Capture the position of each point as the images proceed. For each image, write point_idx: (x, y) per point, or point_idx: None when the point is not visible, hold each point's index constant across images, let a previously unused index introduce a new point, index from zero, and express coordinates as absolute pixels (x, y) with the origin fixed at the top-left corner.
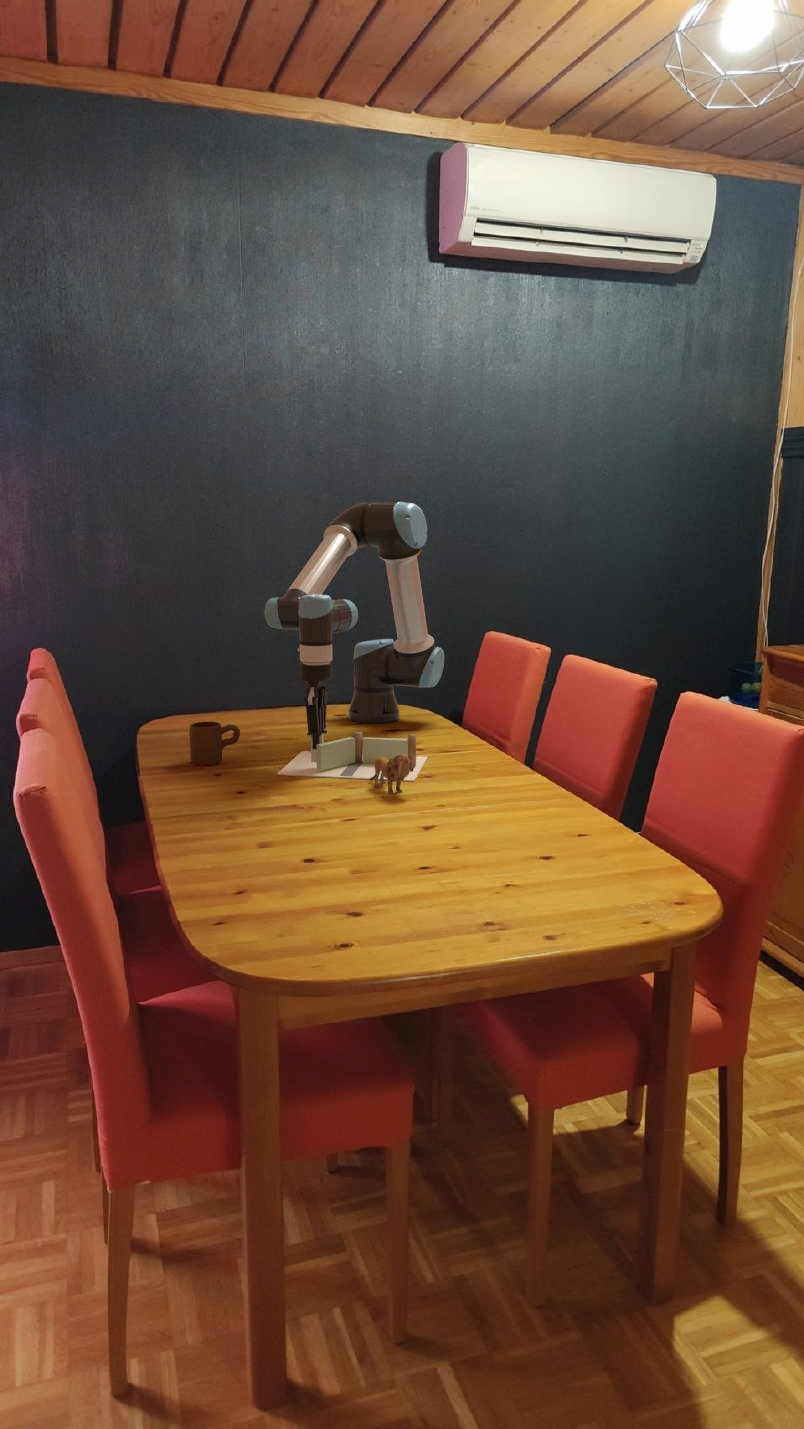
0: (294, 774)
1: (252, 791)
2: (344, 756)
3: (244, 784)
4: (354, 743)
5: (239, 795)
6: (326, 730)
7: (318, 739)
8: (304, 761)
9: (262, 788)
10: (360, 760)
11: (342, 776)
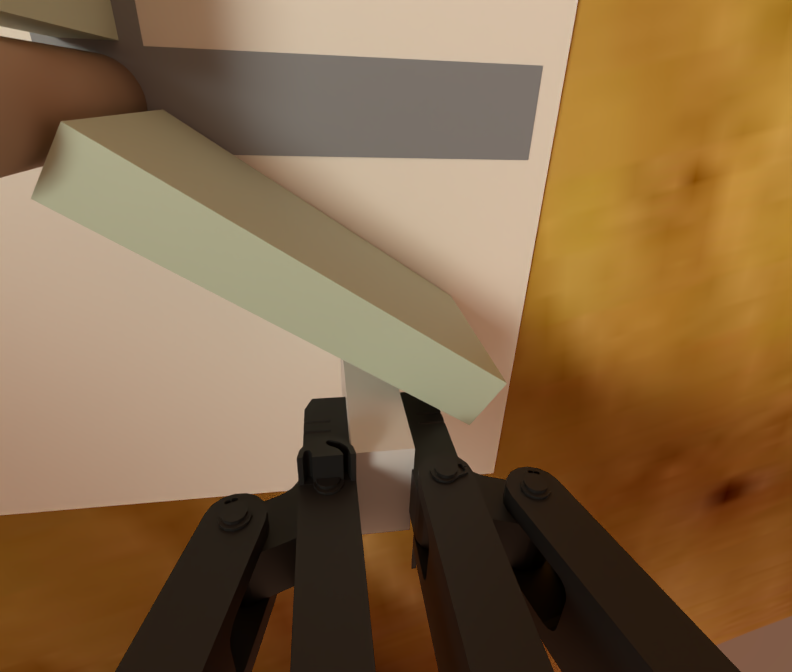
0: (502, 405)
1: (723, 467)
2: (270, 194)
3: (624, 519)
4: (106, 126)
5: (763, 485)
6: (299, 464)
7: (445, 445)
8: (230, 438)
9: (689, 451)
10: (116, 65)
11: (541, 136)
